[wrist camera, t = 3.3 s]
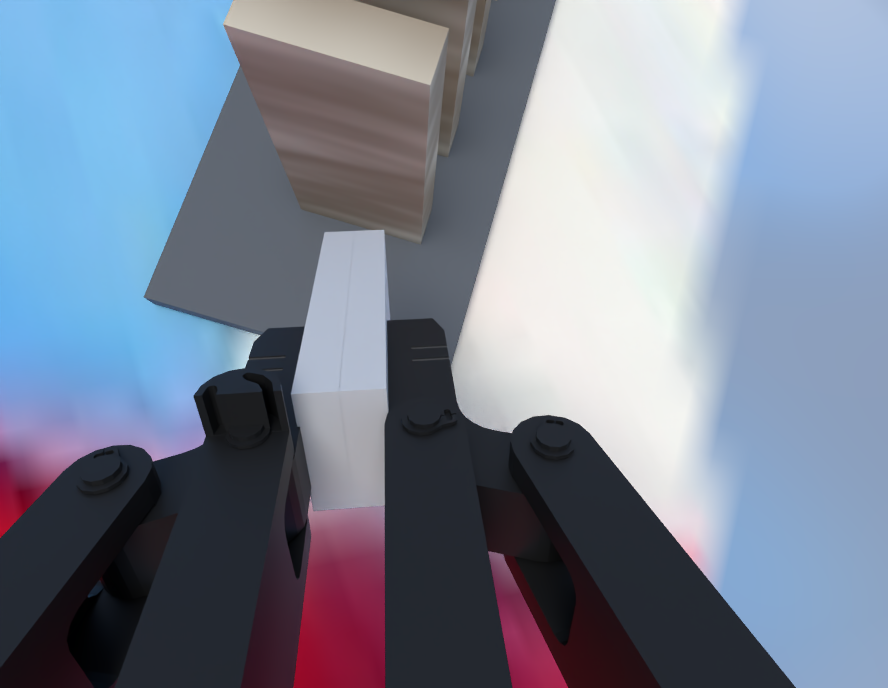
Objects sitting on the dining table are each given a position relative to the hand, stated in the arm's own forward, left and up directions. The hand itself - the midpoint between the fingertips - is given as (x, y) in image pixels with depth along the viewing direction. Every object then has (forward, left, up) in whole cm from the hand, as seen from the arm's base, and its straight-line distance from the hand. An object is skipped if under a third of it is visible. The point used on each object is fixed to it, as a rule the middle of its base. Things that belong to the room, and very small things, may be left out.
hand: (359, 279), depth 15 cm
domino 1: (-3, +4, -7) cm, 9 cm away
